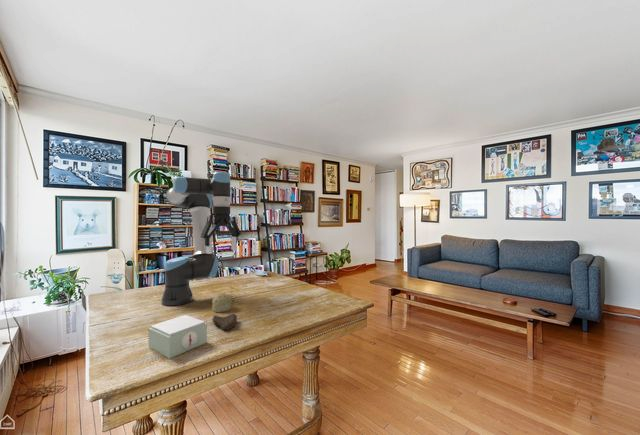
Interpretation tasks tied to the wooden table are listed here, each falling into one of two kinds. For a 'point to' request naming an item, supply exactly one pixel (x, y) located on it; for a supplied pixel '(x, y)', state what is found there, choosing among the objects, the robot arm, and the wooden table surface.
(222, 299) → the decorative object
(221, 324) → the rock
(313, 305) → the wooden table surface
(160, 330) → the scale
